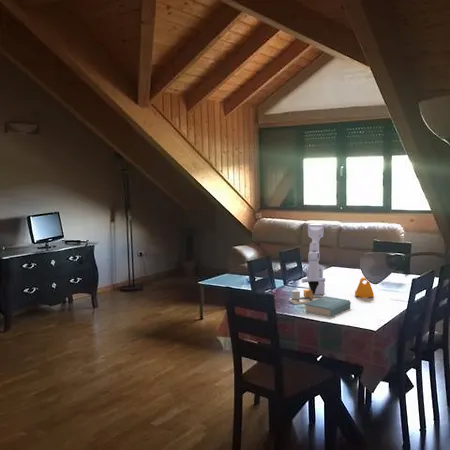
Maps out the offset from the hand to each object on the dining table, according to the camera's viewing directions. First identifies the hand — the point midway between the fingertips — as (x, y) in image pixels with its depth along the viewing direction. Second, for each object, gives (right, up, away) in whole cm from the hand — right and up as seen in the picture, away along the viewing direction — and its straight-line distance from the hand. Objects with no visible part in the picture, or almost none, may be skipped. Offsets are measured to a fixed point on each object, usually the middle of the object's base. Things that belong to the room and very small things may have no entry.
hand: (313, 293), depth 331 cm
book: (+5, -7, -22) cm, 23 cm away
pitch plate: (-3, -4, -2) cm, 6 cm away
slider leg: (-3, -3, -2) cm, 4 cm away
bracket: (+33, -3, +11) cm, 35 cm away
